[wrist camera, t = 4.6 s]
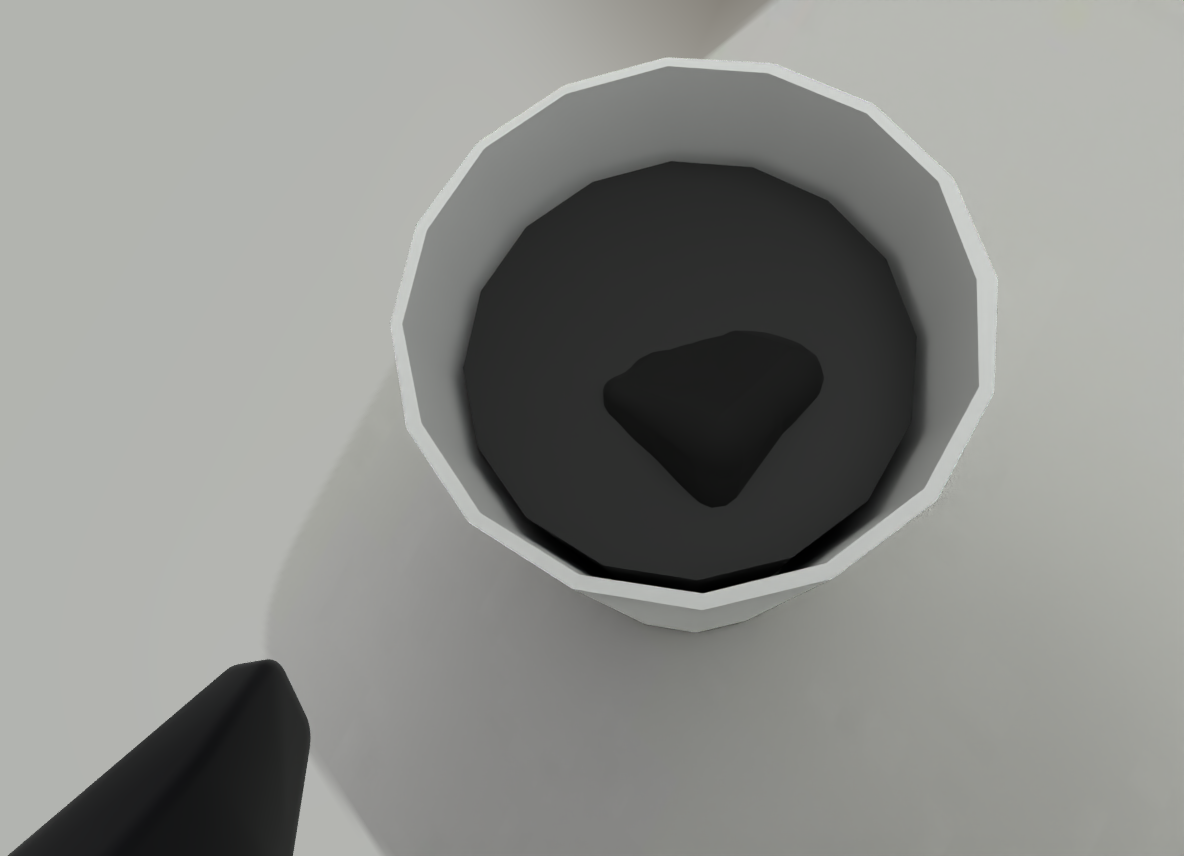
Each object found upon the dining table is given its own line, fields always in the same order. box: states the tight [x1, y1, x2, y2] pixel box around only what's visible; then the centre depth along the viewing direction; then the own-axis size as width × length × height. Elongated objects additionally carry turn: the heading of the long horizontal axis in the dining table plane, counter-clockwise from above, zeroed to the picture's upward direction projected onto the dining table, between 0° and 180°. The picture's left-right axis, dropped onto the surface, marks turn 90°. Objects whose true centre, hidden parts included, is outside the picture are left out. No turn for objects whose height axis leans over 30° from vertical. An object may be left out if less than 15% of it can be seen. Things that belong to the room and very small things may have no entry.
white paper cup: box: [390, 57, 998, 633], centre depth 14 cm, size 7×7×10 cm
